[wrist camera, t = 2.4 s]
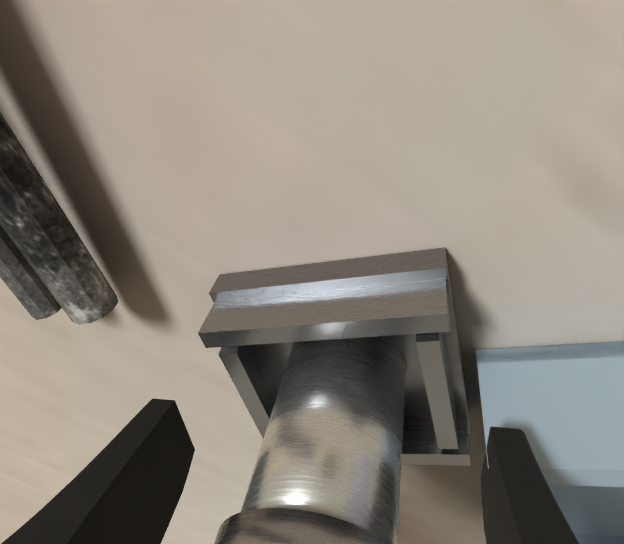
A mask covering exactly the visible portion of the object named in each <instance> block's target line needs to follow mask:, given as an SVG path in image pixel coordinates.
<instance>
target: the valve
mask: <svg viewBox="0 0 624 544" xmlns="http://www.w3.org/2000/svg"><path fill="white" fill-rule="evenodd" d="M0 277H1V279H2V280H3V281H4V282H5V284H6V285H7V286H8V287H9V289H10V290H11V291H12V292H13V294H14V295H15V296H16V297H17V299H18V300H19V301H20V302H21V304H22V305H23V306H24V307H25V309H26V310H27V311H28V312H29V314H30V315H31V316H32V317H33V318H35V319H36V320H38V319H44V318H47V317H49V316H51V315H53V314H55V313H57V312H58V311H59V310H60V309H61V308H63V310H64V311H65V312H66V314H67V315H68V316H69V318H70V319H71V320H72V321H73V322H75V323H77V324H86V323H91V322H94V321H96V320H98V319H101V318H103V317H104V316H106V315H107V314H108V313H110V312H111V311H112V310H113V309H114V308H115V306H116V305H117V303H118V299H117V295H116V294H115V292H114V291H113V289H112V288H111V286H110V284H109V283H108V281H107V280H106V278H105V277H104V275H103V273H102V272H101V270H100V269H99V267H98V266H97V264H96V262H95V261H94V259H93V258H92V256H91V254H90V253H89V251H88V250H87V248H86V247H85V245H84V243H83V242H82V240H81V239H80V237H79V236H78V234H77V232H76V231H75V229H74V228H73V226H72V225H71V223H70V221H69V220H68V218H67V217H66V215H65V214H64V212H63V210H62V209H61V207H60V206H59V204H58V202H57V201H56V199H55V198H54V196H53V195H52V193H51V191H50V190H49V188H48V187H47V185H46V184H45V182H44V180H43V179H42V177H41V176H40V174H39V173H38V171H37V169H36V168H35V166H34V165H33V163H32V161H31V160H30V158H29V157H28V155H27V154H26V152H25V150H24V149H23V147H22V146H21V144H20V143H19V141H18V139H17V138H16V136H15V135H14V133H13V132H12V130H11V128H10V127H9V125H8V124H7V122H6V121H5V119H4V117H3V116H2V114H1V113H0Z"/></svg>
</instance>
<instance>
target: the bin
mask: <svg viewBox="0 0 624 544" xmlns="http://www.w3.org/2000/svg"><path fill="white" fill-rule="evenodd" d="M476 357H477V367H478V376H479V386H480V396H481V405H482V415H483V425H484V434H485V444H486V448H487V442H488V437H489V431H490V426H491V427H503V428H516V429H521V430H522V431H523V432H524V433H525V435H526V437H527V440H528V442H529V445H530V447H531V449H532V452H533V454H534V456H535V459H536V461H537V463H538V465H539V467H540V470H541V472H542V474H543V476H544V478H545V480H546V482H547V484H548V486H549V488H550V490H551V492H552V494H553V496H554V498H555V500H556V502H557V504H558V506H559V508H560V510H561V512H562V513H563V515H564V517H565V519H566V521H567V522H568V524H569V526H570V528H571V530H572V532H573V533H574V535H575V537H576V539H577V541H578V542H579V544H624V342H607V343H588V344H570V345H552V346H533V347H515V348H497V349H478V350H476ZM486 453H487V449H486ZM487 463H488V457H487ZM488 469H489V465H488Z"/></svg>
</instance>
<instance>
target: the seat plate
mask: <svg viewBox="0 0 624 544" xmlns="http://www.w3.org/2000/svg"><path fill="white" fill-rule="evenodd" d="M209 294H210V296H211V298H212V300H213V302H214V305H213V307H212V308H211V310H210V312H209V314H208V316H207V318H206V319H205V321H204V323H203V325H202V327H201V329H200V331H199V332H198V334H199V336H200V338H201V340H202V341H203V343H204V345H205V347H206V348H211V347H222V348H221V350H220V352H219V356H220V358H221V360H222V362H223V364H224V366H225V367H226V369H227V371H228V373H229V375H230V377H231V379H232V381H233V383H234V384H235V386H236V388H237V390H238V392H239V394H240V396H241V398H242V399H243V401H244V403H245V405H246V407H247V409H248V411H249V413H250V415H251V416H252V418H253V420H254V422H255V424H256V426H257V428H258V430H259V432H260V433H261V435H262V437H263V439H264V436H265V432H266V429H267V426H268V423H269V420H270V416H271V413H272V410H273V407H274V404H275V400H276V397H277V394H278V391H279V388H280V384H281V381H282V378H283V375H284V372H285V368H286V365H287V362H288V359H289V356H290V352H291V349H292V347H293V345H294V343H295V342H301V341H316V340H331V339H346V338H361V337H376V336H382V337H384V338H386V339H387V340H388V341H389V342H391V343H392V344H393V345H394V346H395V347H396V348H397V350H398V351H399V352H400V354H401V355H402V357H403V359H404V362H405V366H406V380H405V399H404V419H403V438H402V458H401V465H448V466H471V459H470V445H469V434H471V428H470V415H469V407H468V400H467V393H466V386H465V379H464V372H463V365H462V358H461V352H460V345H459V338H458V331H457V324H456V317H455V310H454V304H453V297H452V290H451V283H450V276H449V269H448V262H447V255H446V249H445V248H439V249H431V250H422V251H414V252H405V253H397V254H389V255H380V256H372V257H364V258H355V259H347V260H339V261H330V262H322V263H314V264H305V265H297V266H289V267H280V268H272V269H263V270H255V271H247V272H238V273H230V274H222V275H219V277H218V278H217V280H216V282H215V284H214V285H213V287H212V289H211V291H210V292H209Z"/></svg>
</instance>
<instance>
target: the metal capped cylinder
mask: <svg viewBox="0 0 624 544" xmlns="http://www.w3.org/2000/svg"><path fill="white" fill-rule="evenodd" d="M405 380H406V366H405V362H404V359H403V357H402V355H401V354H400V352H399V351H398V350H397V348H396V347H395V346H394V345H393V344H392V343H391V342H389V341H388V340H387V339H386V338H384V337H382V336H376V337H361V338H346V339H331V340H316V341H301V342H295V343H294V345H293V347H292V349H291V352H290V356H289V359H288V362H287V365H286V368H285V372H284V375H283V378H282V381H281V384H280V388H279V391H278V394H277V397H276V400H275V404H274V407H273V410H272V413H271V416H270V420H269V423H268V426H267V429H266V432H265V436H264V439H263V442H262V445H261V448H260V452H259V455H258V458H257V461H256V464H255V468H254V471H253V474H252V477H251V480H250V484H249V487H248V490H247V493H246V496H245V500H244V503H243V506H242V509H241V512H240V513H237V514H235V515H233V516H231V517H229V518H228V519H227V520H225V521H224V522H223V524H222V525H221V526H220V529H219V531H218V534H217V537H216V540H215V543H214V544H397V536H398V516H399V497H400V477H401V458H402V438H403V419H404V399H405Z"/></svg>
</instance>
